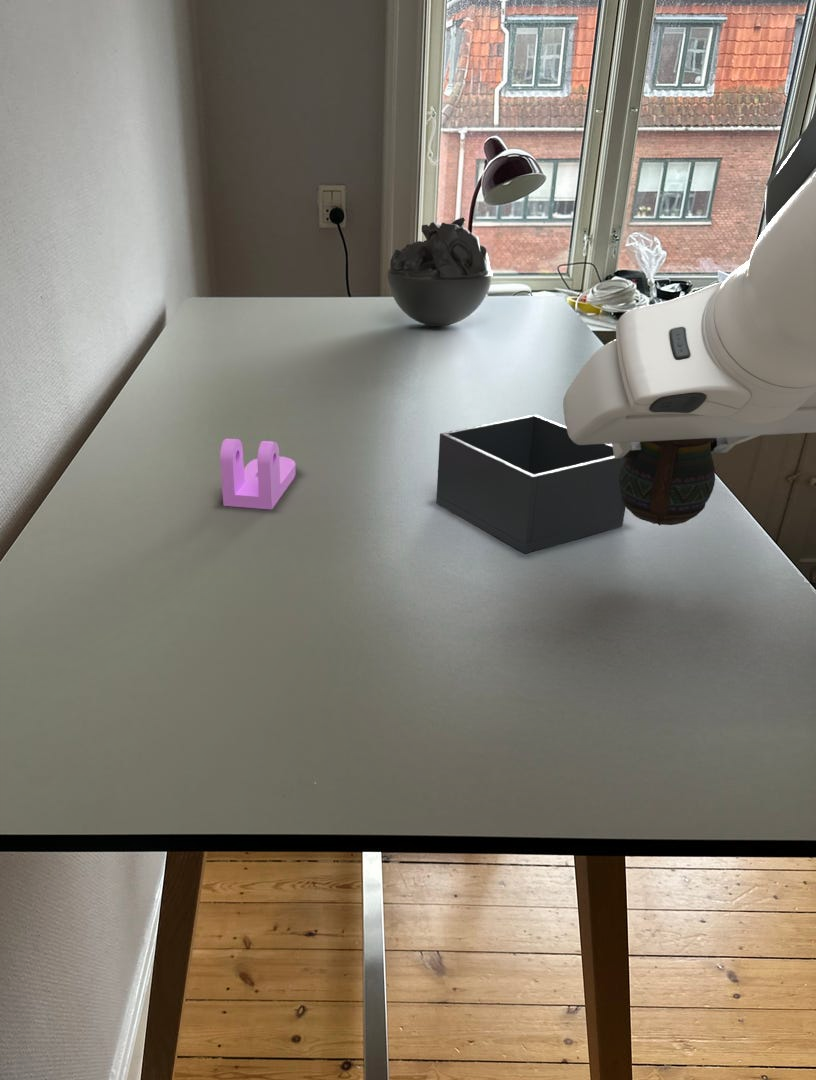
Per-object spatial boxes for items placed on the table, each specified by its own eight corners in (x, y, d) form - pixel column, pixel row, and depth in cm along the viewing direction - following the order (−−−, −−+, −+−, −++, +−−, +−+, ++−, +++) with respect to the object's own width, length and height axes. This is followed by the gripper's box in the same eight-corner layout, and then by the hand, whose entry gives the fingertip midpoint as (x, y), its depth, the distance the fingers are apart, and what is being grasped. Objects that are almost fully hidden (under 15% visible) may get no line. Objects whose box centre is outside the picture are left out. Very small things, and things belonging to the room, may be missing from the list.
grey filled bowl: (421, 341, 168) (425, 229, 159) (367, 320, 184) (369, 218, 174) (509, 329, 176) (519, 222, 167) (451, 310, 191) (457, 212, 182)
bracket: (271, 509, 101) (269, 448, 97) (223, 505, 102) (219, 445, 98) (300, 468, 112) (299, 412, 108) (256, 465, 113) (253, 409, 109)
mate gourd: (705, 538, 70) (733, 409, 65) (603, 525, 72) (622, 399, 67) (709, 504, 76) (735, 383, 70) (615, 492, 78) (633, 374, 73)
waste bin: (528, 481, 108) (535, 414, 104) (622, 526, 96) (634, 453, 92) (435, 503, 102) (439, 433, 98) (524, 554, 91) (532, 477, 87)
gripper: (899, 300, 60) (784, 404, 73) (598, 312, 58) (536, 417, 72) (923, 386, 59) (801, 477, 72) (615, 401, 57) (548, 491, 70)
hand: (667, 447), depth 72 cm, fingers closed on mate gourd, 6 cm apart
